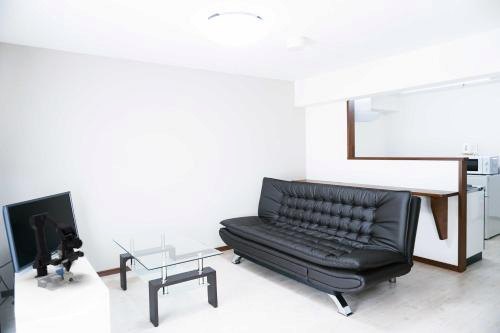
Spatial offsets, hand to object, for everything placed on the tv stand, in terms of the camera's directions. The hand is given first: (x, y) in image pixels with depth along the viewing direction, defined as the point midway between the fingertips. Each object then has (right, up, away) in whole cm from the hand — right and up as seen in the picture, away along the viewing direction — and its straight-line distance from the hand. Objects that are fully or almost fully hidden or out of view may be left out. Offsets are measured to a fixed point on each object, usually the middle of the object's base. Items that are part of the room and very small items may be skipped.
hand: (68, 271), depth 204 cm
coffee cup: (-16, -4, +27) cm, 32 cm away
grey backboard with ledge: (-4, -7, -2) cm, 8 cm away
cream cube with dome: (-2, -6, +1) cm, 6 cm away
